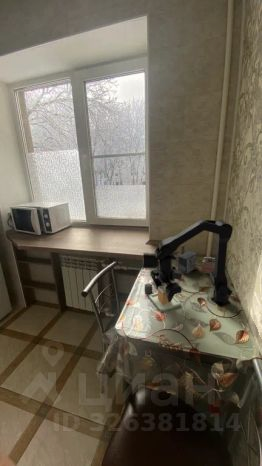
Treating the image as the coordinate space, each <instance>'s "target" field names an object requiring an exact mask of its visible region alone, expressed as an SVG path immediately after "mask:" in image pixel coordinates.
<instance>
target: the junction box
mask: <svg viewBox="0 0 262 466" xmlns="http://www.w3.org/2000/svg"><path fill="white" fill-rule="evenodd" d="M171 282H172V283H177V284H178V285H179V283H180V282H179V281H178V279H174V281H171ZM150 284H152V286H154V288H156V289H157V287H156V285H155V283H154V281H153V280H152V281H151V282H150ZM162 285H166V284H165V283H162Z"/></svg>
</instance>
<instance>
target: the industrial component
mask: <svg viewBox="0 0 262 466" xmlns="http://www.w3.org/2000/svg"><path fill="white" fill-rule="evenodd" d="M185 247H186V245H184V244H181V245H180V252H178V253H176V258H177V259H178V257H179V256H180V255H182V254H184V253H185Z"/></svg>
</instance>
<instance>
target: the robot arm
mask: <svg viewBox="0 0 262 466" xmlns="http://www.w3.org/2000/svg"><path fill="white" fill-rule="evenodd" d="M204 231H205V232H210V233H213V235H214V238H215V251H214V252H215V254H214V258H215V265H214V270H213V271H212V272H211V271H210V272H209V273H210V274H209V276H208V279H209V281H210V283H211V284H212V286H213V287H214V289H213V293H212V294H213V295H212V296H213V297H211V298H210V300H211V301H212V302H214V303H215V304H216V305H218V307H224V306H226V305H229V304H231V301H230V296H231V295H232V294H233V290H232V289H231V288H230V286H229V284H228V277H227V275H226V265H227V264H226V263H227V251H228V243H229V241H230V239H231V238H232V235H233V231H234V229H233V226H232V225H231V224H230V223H228V222H227V221H226V220H223V219H218V220H213V219H203V218H201V219H199V220H197V222H195V223H193V224H192V225H190V226H188V227H186V228H185V229H184V230H182V231H181V232H179V233H178V234H176V235H174V236H169V237H166V238H164V239H162V240H160V241H159V243H158V247H157V248H156V249H155V250H154V253H153V252H152V253H150V252H149V253H148V252H144V253H142V255H143V256H142V268H143V269H152V270H151V271H150V273H149V274H150V277H151V279H152V282H153V281H154V283H155V285H156V287H157V288H156V287H155V288H156V290H158V287H159V286H162V283H165V284H166V285H167V286H166V287H165V290H166V291H165V293H166V296H167V299H168V302H171V300H172V298H173V296H174V297H175V295H177V294H180V293H182V290H183V288H182V286H181V285H179V284H177V283H172V282H171V281H174V279H177V280H179V281H181V280H182V276H183V275H184V274H183V273H181V272H180V271H179V270H178V268H176V266H174V265H173V260H178V258H177V255H176V254H174V253H175V252H176V251H177V250H178V249H179V247H181V245H184V243H186V242H188V241H190V240H191V239H193V238H195V237H196V236H198V235H199V234H201V233H203V232H204ZM156 268H157V269H156Z"/></svg>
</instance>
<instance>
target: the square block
mask: <svg viewBox="0 0 262 466" xmlns="http://www.w3.org/2000/svg"><path fill="white" fill-rule="evenodd" d="M166 286H167V285H162V286H159V287H158V289H157V293H158V300H159V301H160V302H161V303H162V304H166V303H169V302H168V299H167V296H166V293H165V291H166V290H165V287H166Z"/></svg>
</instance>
